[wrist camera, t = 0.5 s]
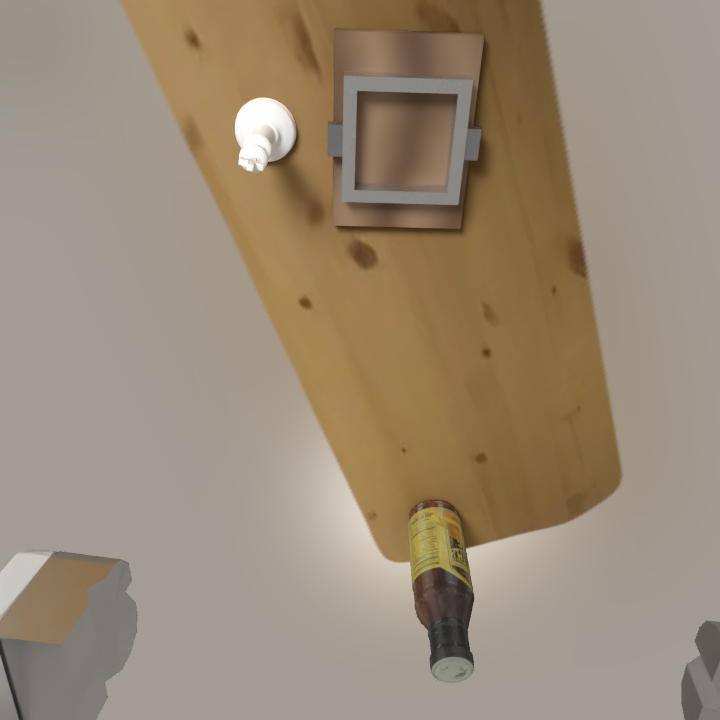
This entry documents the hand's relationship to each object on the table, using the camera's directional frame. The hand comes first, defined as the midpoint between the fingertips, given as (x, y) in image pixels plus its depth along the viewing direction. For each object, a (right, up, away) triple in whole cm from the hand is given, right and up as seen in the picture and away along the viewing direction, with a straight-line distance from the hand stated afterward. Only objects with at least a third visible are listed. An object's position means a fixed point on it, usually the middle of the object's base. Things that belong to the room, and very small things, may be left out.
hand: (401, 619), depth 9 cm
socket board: (+3, +22, +43) cm, 49 cm away
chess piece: (-8, +22, +43) cm, 49 cm away
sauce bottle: (+8, -14, +68) cm, 70 cm away
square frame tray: (+3, +21, +42) cm, 48 cm away
